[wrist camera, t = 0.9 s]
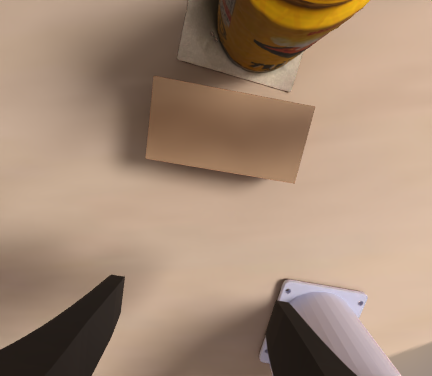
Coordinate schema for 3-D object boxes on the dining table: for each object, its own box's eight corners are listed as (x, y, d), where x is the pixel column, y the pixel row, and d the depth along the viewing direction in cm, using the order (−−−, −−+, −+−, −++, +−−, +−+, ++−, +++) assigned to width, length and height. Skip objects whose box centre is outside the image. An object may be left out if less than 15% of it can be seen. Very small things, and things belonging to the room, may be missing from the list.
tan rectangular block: (279, 172, 20) (294, 183, 16) (156, 151, 19) (145, 158, 16) (295, 109, 18) (315, 106, 15) (164, 84, 18) (153, 75, 14)
